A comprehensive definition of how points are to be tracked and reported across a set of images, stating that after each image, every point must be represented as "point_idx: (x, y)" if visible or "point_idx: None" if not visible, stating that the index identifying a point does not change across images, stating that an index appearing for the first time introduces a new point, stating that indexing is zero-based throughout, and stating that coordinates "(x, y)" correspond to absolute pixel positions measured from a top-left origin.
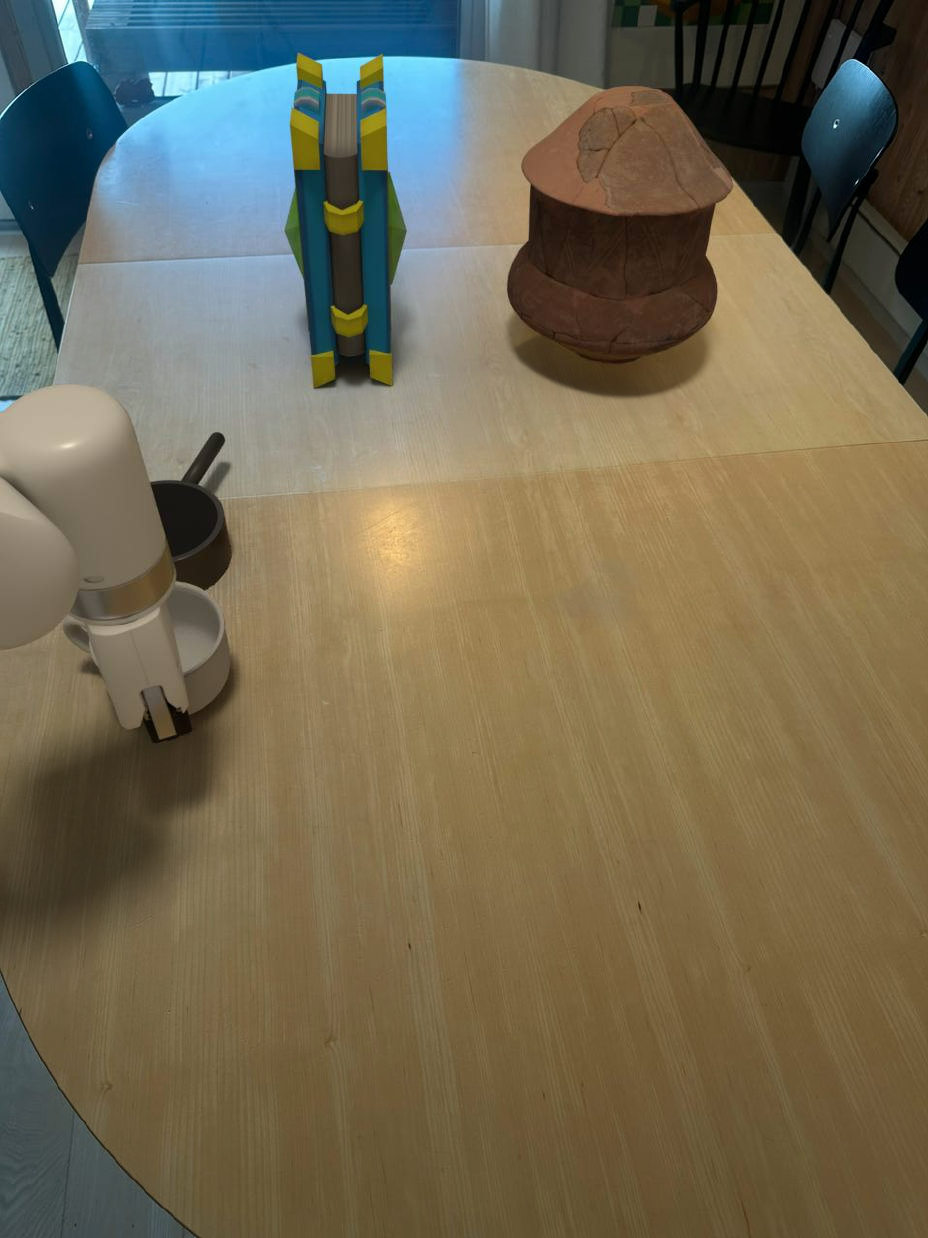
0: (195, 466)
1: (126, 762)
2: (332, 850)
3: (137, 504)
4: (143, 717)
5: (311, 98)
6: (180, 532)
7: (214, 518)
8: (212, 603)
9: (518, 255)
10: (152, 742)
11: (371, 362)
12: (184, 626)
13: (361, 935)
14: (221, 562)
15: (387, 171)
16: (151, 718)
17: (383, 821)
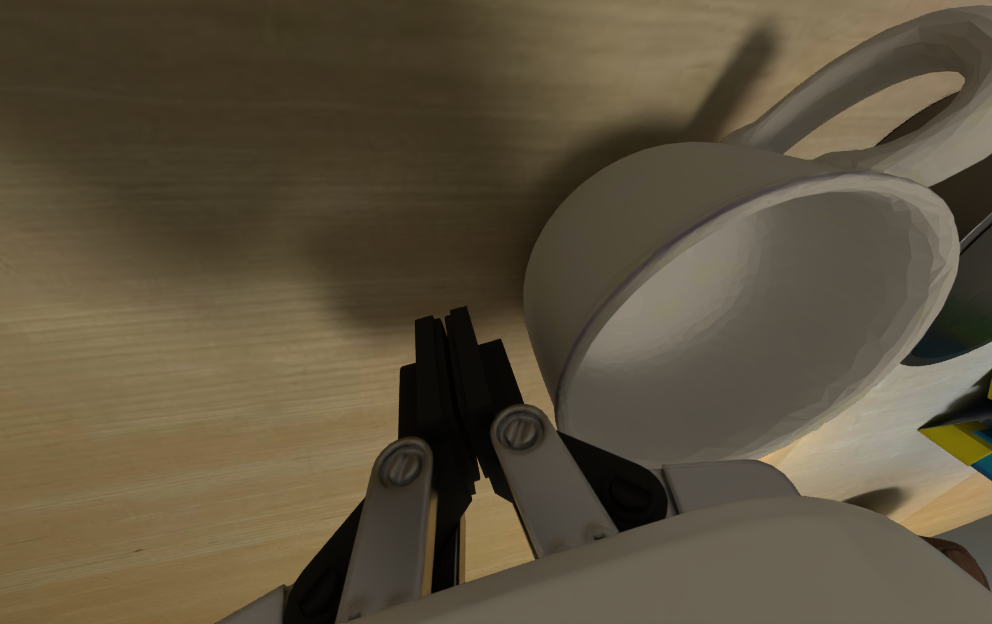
0: None
1: (449, 172)
2: (270, 477)
3: None
4: (418, 412)
5: None
6: (965, 305)
7: (936, 354)
8: (747, 455)
9: (979, 580)
10: (416, 320)
11: (975, 443)
12: (734, 300)
13: (132, 518)
14: None
15: None
16: (286, 617)
17: (326, 507)
